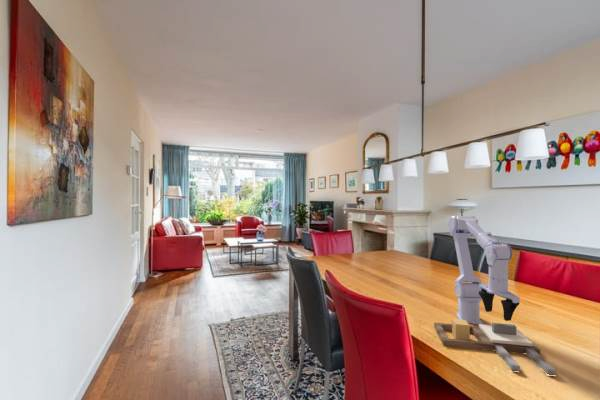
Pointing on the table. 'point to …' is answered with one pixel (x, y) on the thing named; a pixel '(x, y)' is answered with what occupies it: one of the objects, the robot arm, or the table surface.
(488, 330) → the slide cover
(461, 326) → the ochre block
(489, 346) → the brown flat frame
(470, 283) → the robot arm
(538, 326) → the table surface
